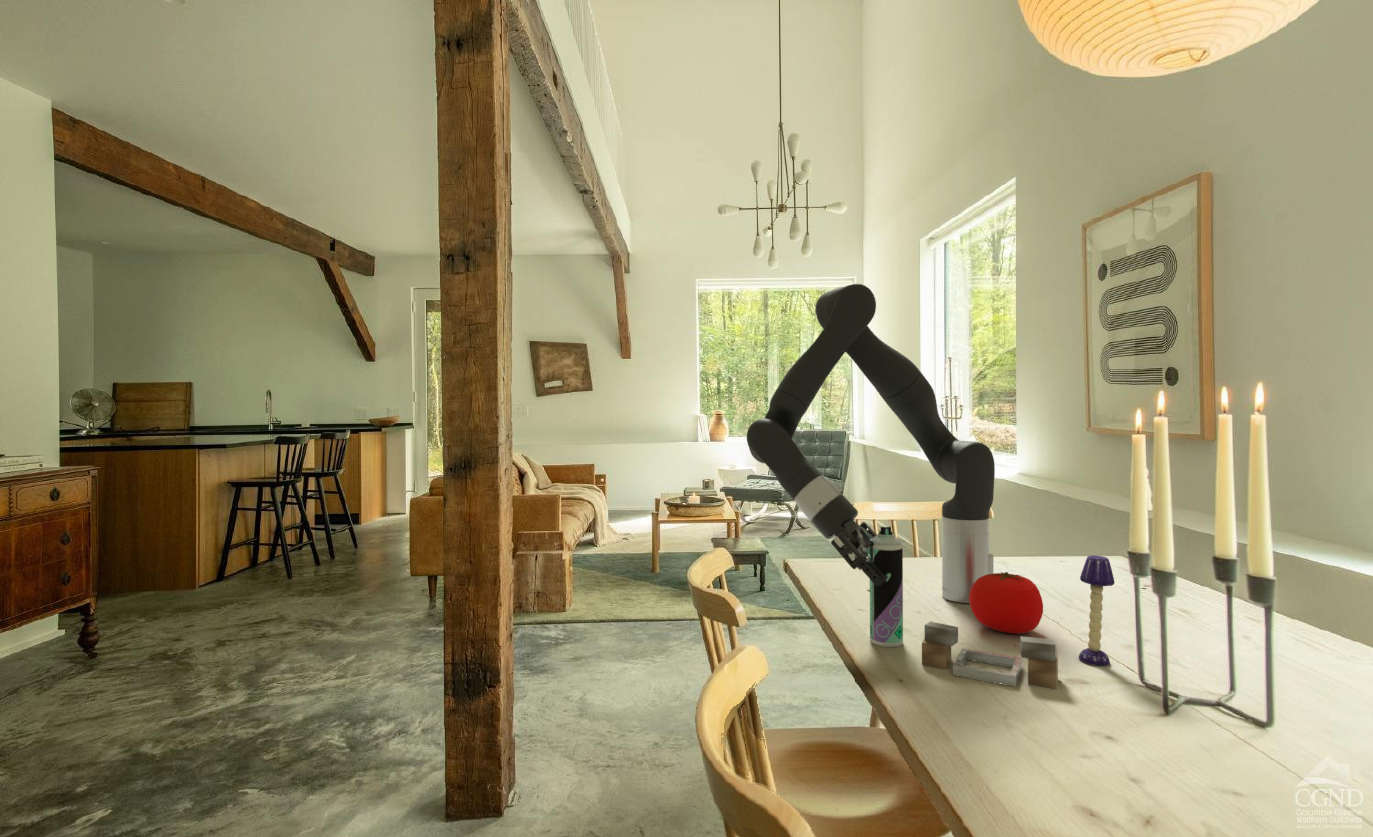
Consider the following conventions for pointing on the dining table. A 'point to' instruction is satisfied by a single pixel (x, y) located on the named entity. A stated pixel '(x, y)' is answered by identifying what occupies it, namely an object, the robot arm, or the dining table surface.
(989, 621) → the tomato
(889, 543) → the spray can
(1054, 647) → the stand
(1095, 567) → the toy lamp
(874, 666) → the dining table surface
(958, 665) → the socket collar
